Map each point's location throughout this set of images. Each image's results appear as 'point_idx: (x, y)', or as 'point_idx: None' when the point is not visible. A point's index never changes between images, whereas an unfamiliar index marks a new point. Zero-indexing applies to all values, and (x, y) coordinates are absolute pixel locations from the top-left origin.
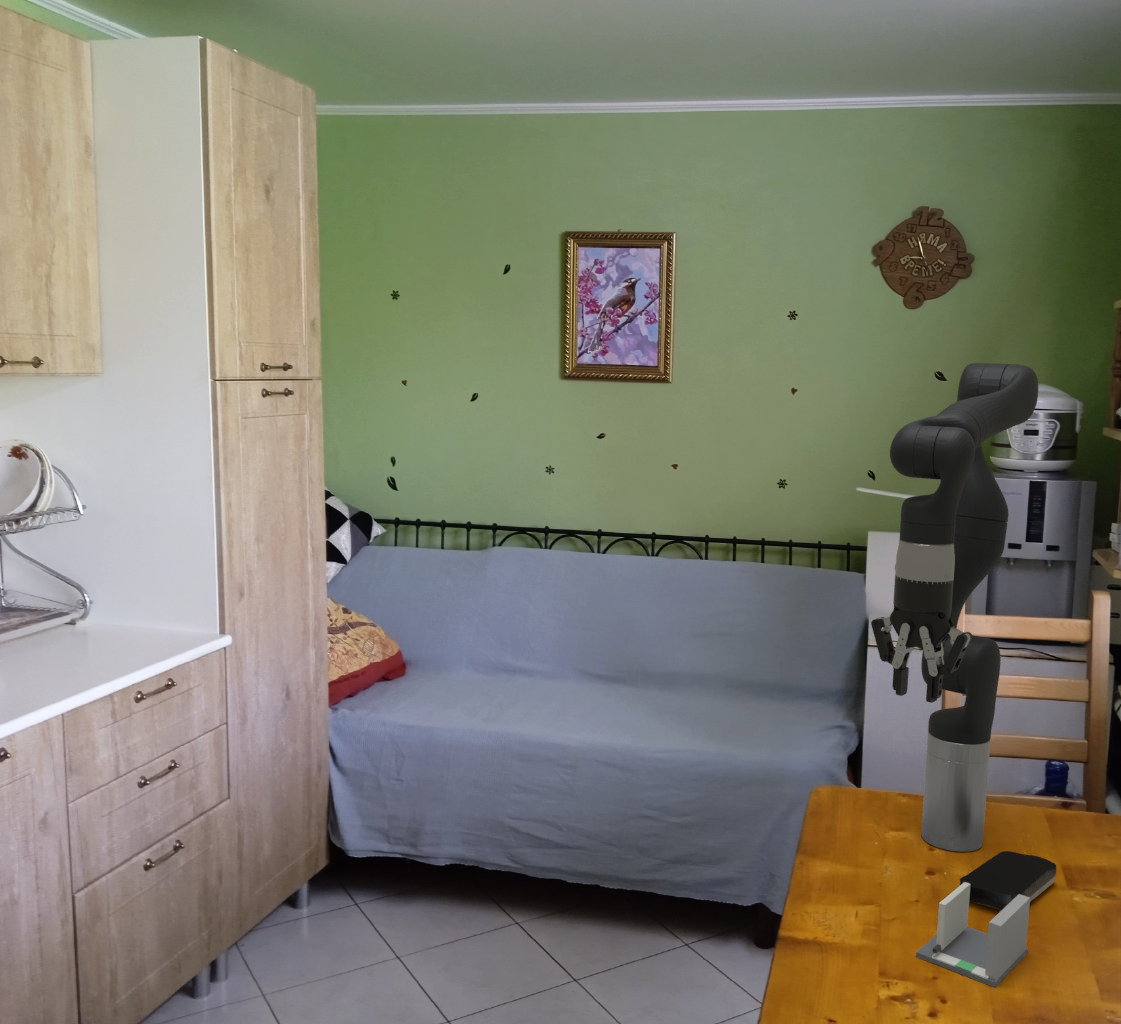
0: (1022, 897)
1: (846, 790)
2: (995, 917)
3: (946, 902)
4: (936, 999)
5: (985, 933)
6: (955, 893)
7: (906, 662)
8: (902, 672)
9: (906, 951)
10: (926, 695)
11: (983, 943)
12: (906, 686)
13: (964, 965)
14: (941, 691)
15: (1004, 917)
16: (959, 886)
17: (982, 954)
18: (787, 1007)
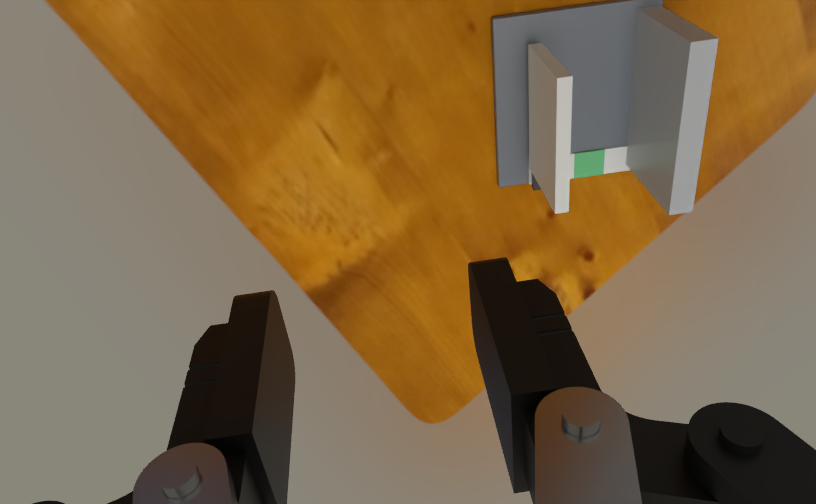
0: (701, 52)
1: None
2: (674, 188)
3: (565, 199)
4: (579, 260)
5: (570, 10)
6: (564, 149)
7: (238, 497)
8: (282, 496)
9: (476, 180)
10: (482, 370)
11: (583, 56)
12: (274, 332)
13: (587, 166)
14: (561, 313)
15: (690, 174)
16: (557, 111)
17: (595, 96)
18: (435, 412)
